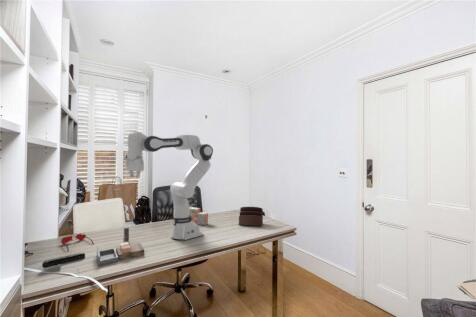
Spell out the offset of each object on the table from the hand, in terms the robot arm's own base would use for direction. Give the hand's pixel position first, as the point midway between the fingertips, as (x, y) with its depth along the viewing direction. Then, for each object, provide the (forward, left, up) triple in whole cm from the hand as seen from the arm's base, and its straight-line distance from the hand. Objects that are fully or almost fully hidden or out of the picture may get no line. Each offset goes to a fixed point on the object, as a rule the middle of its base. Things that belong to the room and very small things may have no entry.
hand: (134, 177), depth 146 cm
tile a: (+7, +13, -40) cm, 43 cm away
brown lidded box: (-92, +5, -43) cm, 102 cm away
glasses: (+30, -19, -44) cm, 57 cm away
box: (+16, +16, -43) cm, 49 cm away
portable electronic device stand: (+35, +7, -44) cm, 57 cm away
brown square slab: (+5, +16, -43) cm, 46 cm away
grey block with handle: (+4, -1, -43) cm, 43 cm away
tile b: (+7, +19, -40) cm, 45 cm away
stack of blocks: (-55, -24, -43) cm, 74 cm away
